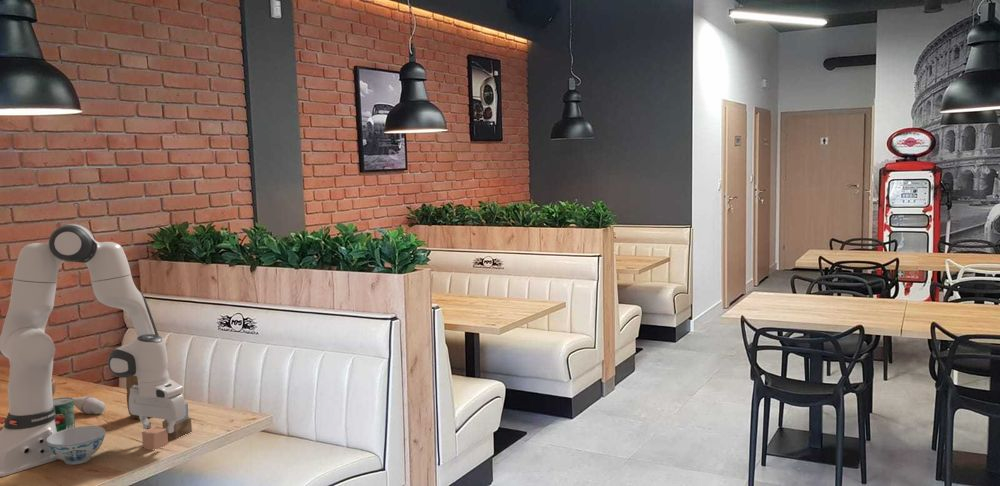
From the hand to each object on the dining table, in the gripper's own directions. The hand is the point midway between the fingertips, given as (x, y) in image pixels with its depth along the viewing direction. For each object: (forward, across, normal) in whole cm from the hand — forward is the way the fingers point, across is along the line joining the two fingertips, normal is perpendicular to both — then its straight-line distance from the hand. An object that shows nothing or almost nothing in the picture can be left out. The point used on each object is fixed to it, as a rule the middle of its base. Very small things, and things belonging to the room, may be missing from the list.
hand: (158, 430), depth 229 cm
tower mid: (0, -2, +8) cm, 9 cm away
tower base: (+5, -2, +8) cm, 10 cm away
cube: (+4, 0, -2) cm, 5 cm away
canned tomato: (+4, -37, -5) cm, 38 cm away
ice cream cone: (+4, -48, +12) cm, 50 cm away
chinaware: (+4, -13, -18) cm, 22 cm away
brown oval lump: (+5, -26, +18) cm, 32 cm away
